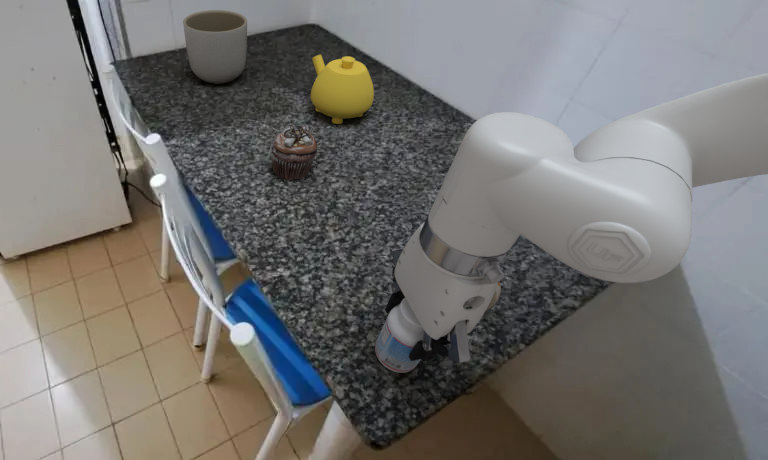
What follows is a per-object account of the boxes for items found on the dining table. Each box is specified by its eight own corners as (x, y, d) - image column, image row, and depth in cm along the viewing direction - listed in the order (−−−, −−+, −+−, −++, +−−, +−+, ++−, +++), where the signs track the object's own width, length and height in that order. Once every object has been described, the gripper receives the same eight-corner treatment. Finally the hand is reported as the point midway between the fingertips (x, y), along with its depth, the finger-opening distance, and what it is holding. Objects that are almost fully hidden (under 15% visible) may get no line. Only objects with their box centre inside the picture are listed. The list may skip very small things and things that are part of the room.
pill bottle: (427, 360, 54) (458, 318, 46) (395, 382, 52) (421, 341, 44) (396, 327, 58) (420, 282, 50) (364, 345, 56) (384, 302, 48)
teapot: (287, 99, 106) (291, 47, 96) (332, 85, 111) (340, 35, 101) (334, 134, 94) (344, 78, 84) (382, 117, 100) (396, 63, 90)
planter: (182, 87, 109) (175, 29, 98) (197, 62, 121) (192, 8, 110) (242, 92, 108) (241, 34, 97) (251, 66, 120) (251, 11, 109)
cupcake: (303, 152, 88) (308, 112, 81) (320, 178, 82) (327, 137, 75) (263, 159, 87) (264, 118, 79) (277, 186, 80) (279, 145, 73)
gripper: (560, 308, 33) (471, 391, 46) (448, 180, 44) (403, 276, 57) (480, 324, 32) (413, 405, 45) (387, 188, 43) (355, 284, 56)
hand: (408, 331), depth 51 cm, fingers closed on pill bottle, 6 cm apart
